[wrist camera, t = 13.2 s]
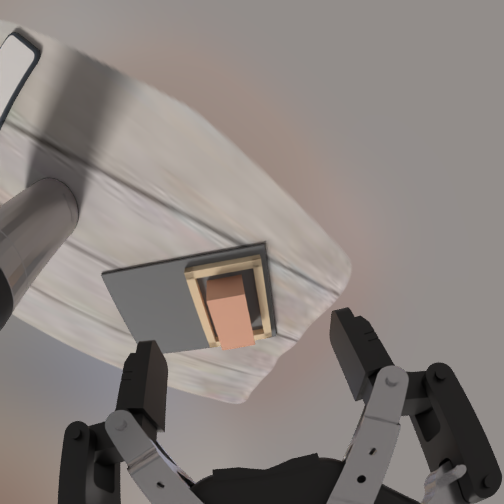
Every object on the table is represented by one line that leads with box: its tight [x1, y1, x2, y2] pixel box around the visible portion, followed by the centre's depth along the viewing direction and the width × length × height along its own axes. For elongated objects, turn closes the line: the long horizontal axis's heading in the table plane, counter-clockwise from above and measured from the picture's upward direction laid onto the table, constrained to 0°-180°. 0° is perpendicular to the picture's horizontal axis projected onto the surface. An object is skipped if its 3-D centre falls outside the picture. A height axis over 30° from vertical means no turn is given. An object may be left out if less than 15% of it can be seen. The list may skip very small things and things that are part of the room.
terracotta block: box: [206, 274, 255, 350], centre depth 41 cm, size 10×5×4 cm, turn 8°
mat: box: [101, 244, 276, 354], centre depth 42 cm, size 24×18×2 cm
